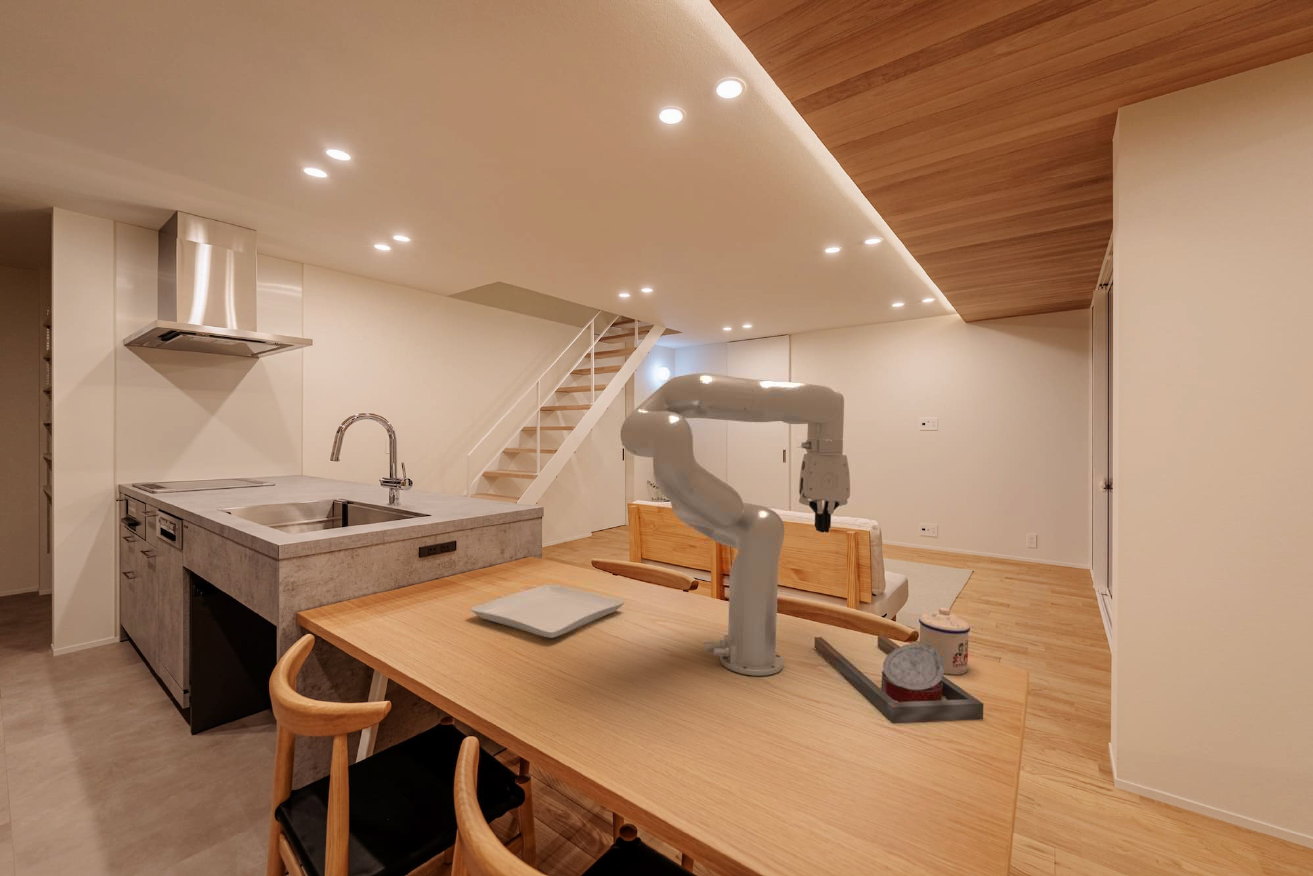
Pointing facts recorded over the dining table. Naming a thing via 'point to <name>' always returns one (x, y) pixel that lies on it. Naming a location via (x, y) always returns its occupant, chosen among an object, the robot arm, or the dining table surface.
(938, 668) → the canned food
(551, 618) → the square plate
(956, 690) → the can dock
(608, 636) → the dining table surface
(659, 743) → the dining table surface
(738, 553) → the robot arm
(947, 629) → the teacup with lid
